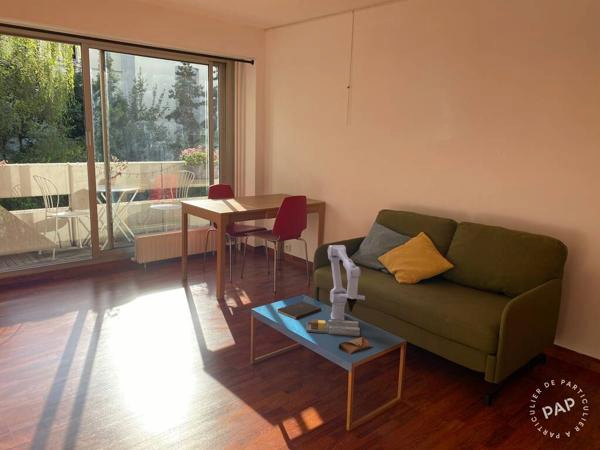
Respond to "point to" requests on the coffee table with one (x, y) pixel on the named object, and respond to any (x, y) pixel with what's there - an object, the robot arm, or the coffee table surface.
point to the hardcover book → (299, 310)
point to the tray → (316, 329)
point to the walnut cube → (314, 324)
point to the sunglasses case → (355, 345)
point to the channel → (343, 327)
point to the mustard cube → (321, 324)
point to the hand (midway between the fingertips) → (350, 310)
